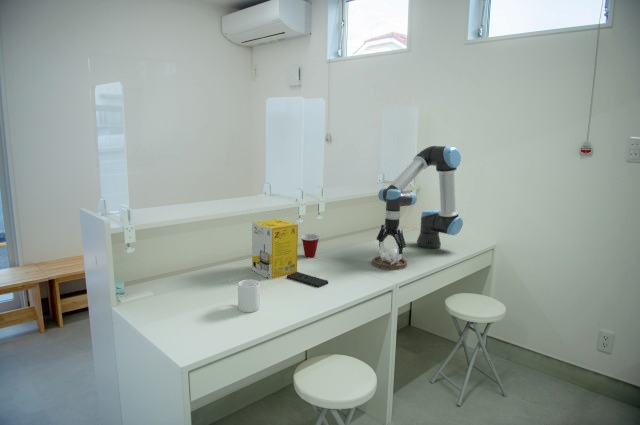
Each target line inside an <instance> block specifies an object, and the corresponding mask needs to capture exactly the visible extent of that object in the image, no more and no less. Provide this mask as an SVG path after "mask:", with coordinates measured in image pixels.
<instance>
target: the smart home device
mask: <svg viewBox="0 0 640 425" xmlns="http://www.w3.org/2000/svg"><path fill="white" fill-rule="evenodd" d="M286 279H287V280H288V279H289V280H292V281H295V282H298V283H302V284H306V285H308V286H311V287H314V288H318V289H319V288H322V287H324V286H326V285H327V284H329V280H326V279H323V278H320V277H316V276H314V275H310V274H306V273H303V272H300V271H297V272H295V273H292V274H289V275H286Z"/></svg>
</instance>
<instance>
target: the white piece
mask: <svg viewBox="0 0 640 425" xmlns="http://www.w3.org/2000/svg"><path fill="white" fill-rule="evenodd" d="M380 256H381V259H382V260H383V261H385V260H387V261H389V262H391V260H393V261H394V262H392V263H391V264H390V265H394V264H395V263H398V262H399V260H397V248H391V249H388V250H386V252H384V253H381V254H380Z"/></svg>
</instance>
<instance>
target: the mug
mask: <svg viewBox="0 0 640 425" xmlns="http://www.w3.org/2000/svg"><path fill="white" fill-rule="evenodd" d="M237 306H238V307H237V308H238V310H239V311H240V312H243V313H255V312H257V311H259V309H260V306H261V282H260V281H259V280H257V279H243V280H241V281H239V282H237Z"/></svg>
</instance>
